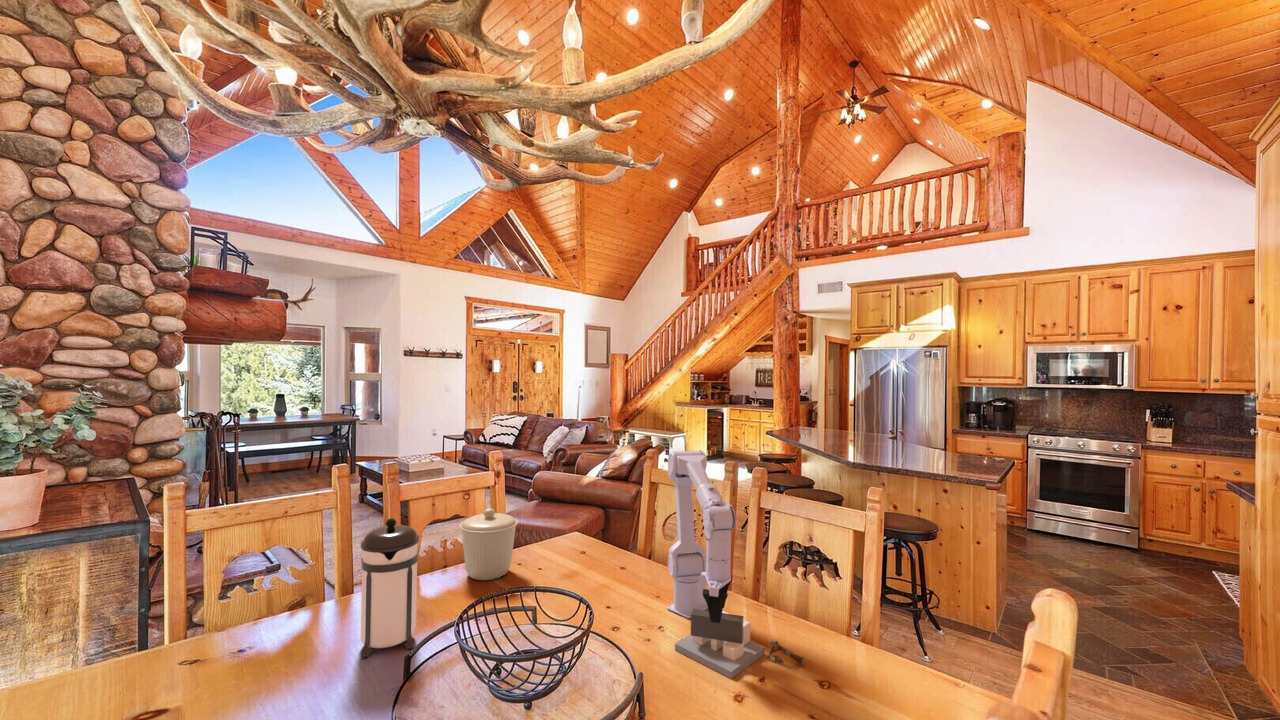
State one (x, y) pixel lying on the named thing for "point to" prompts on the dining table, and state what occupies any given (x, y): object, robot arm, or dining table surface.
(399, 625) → the coffee press
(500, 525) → the canister
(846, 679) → the dining table surface
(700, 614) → the charcoal rectangular block
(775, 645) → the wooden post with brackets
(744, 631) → the stand
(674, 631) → the dining table surface
